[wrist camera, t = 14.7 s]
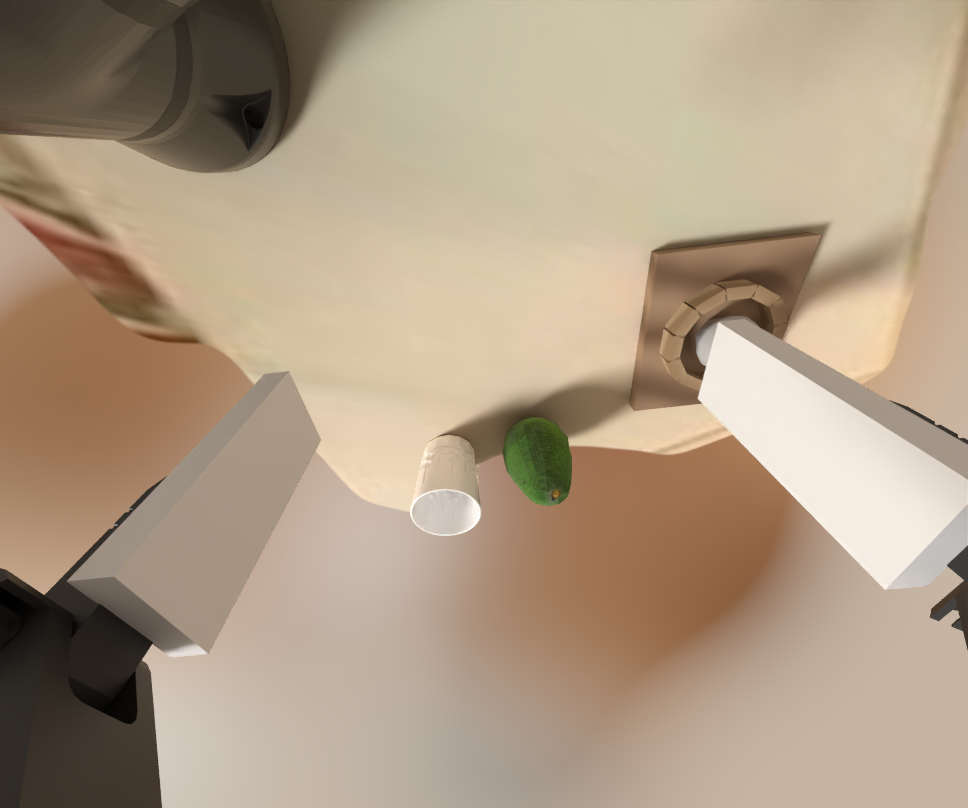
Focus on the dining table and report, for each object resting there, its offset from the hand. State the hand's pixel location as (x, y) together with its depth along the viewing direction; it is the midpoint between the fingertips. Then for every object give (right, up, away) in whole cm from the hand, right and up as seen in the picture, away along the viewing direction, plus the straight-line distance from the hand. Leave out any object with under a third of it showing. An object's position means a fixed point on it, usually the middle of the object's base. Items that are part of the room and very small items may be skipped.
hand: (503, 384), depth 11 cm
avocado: (+5, -4, +35) cm, 36 cm away
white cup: (-5, -7, +37) cm, 38 cm away
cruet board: (+24, +8, +28) cm, 38 cm away
